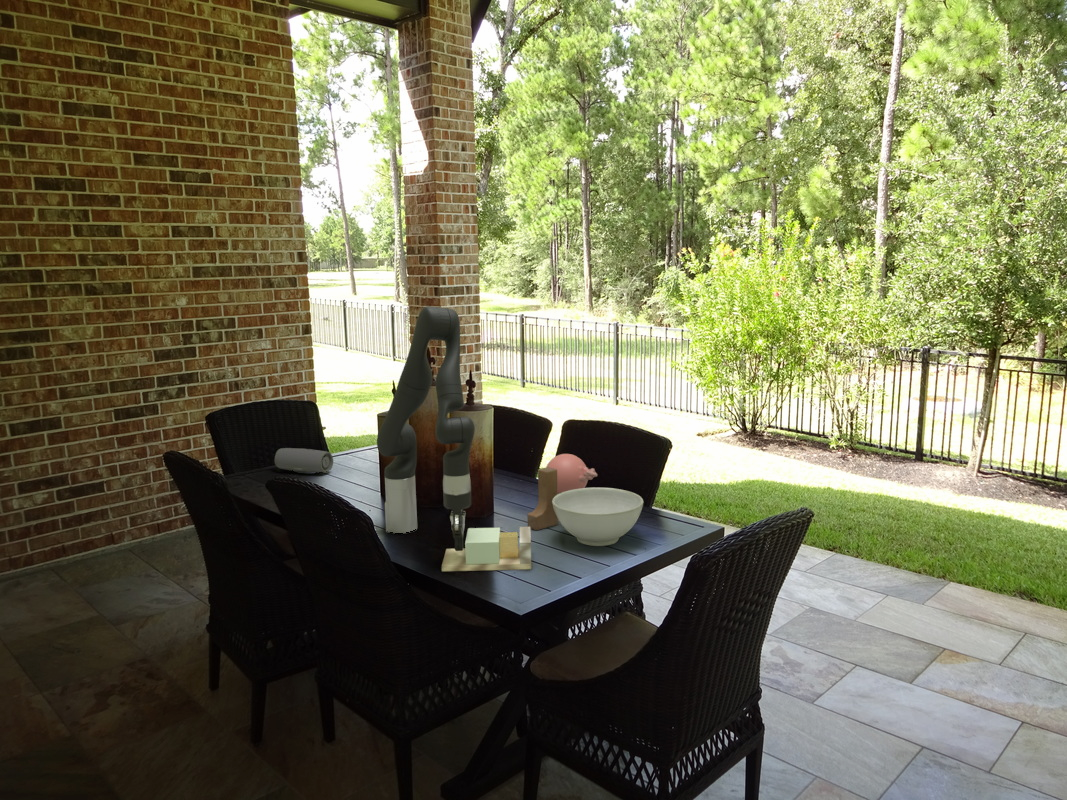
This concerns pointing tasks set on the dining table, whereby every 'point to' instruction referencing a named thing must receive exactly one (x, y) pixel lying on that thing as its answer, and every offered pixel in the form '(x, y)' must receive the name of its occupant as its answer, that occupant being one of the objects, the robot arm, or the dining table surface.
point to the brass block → (508, 544)
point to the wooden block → (544, 500)
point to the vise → (458, 563)
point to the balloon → (571, 472)
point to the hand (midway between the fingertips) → (459, 549)
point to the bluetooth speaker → (303, 460)
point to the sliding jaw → (482, 546)
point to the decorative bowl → (597, 513)
